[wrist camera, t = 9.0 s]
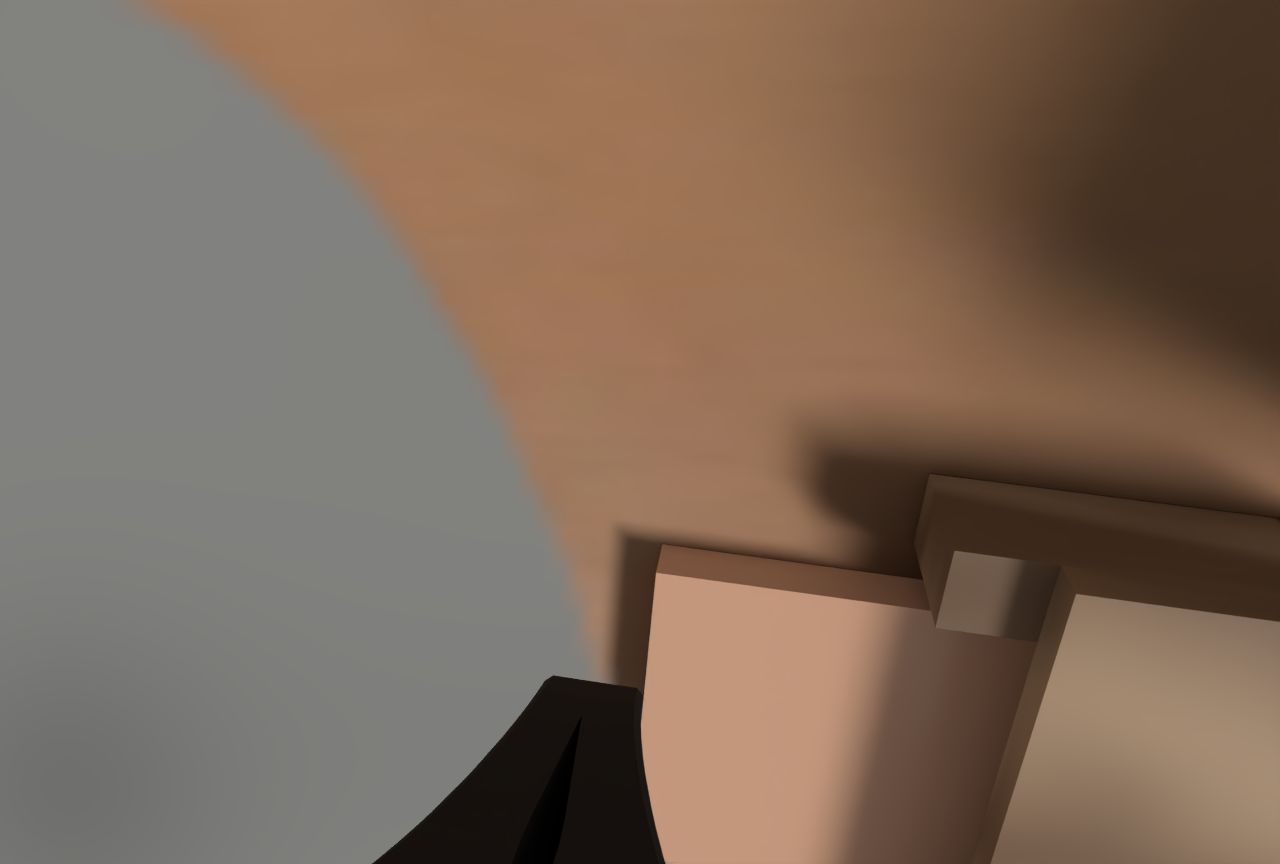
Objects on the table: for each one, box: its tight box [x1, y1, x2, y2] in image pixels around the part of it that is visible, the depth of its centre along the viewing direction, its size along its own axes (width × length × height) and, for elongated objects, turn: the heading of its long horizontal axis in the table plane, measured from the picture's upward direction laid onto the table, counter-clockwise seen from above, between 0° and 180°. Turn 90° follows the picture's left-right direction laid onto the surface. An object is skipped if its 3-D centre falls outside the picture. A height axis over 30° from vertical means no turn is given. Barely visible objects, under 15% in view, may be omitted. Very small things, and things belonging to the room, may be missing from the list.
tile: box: [641, 544, 1038, 864], centre depth 24 cm, size 9×12×2 cm
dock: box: [914, 474, 1280, 864], centre depth 22 cm, size 15×9×4 cm, turn 175°
